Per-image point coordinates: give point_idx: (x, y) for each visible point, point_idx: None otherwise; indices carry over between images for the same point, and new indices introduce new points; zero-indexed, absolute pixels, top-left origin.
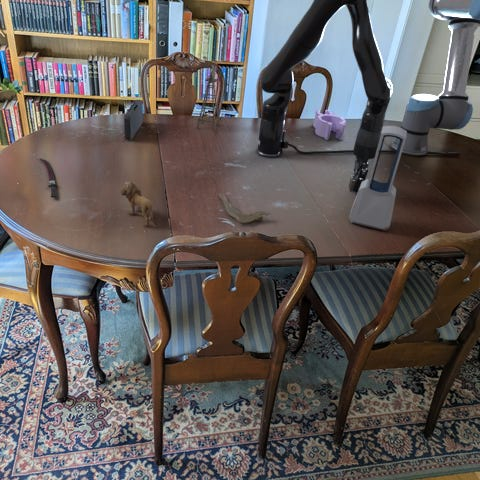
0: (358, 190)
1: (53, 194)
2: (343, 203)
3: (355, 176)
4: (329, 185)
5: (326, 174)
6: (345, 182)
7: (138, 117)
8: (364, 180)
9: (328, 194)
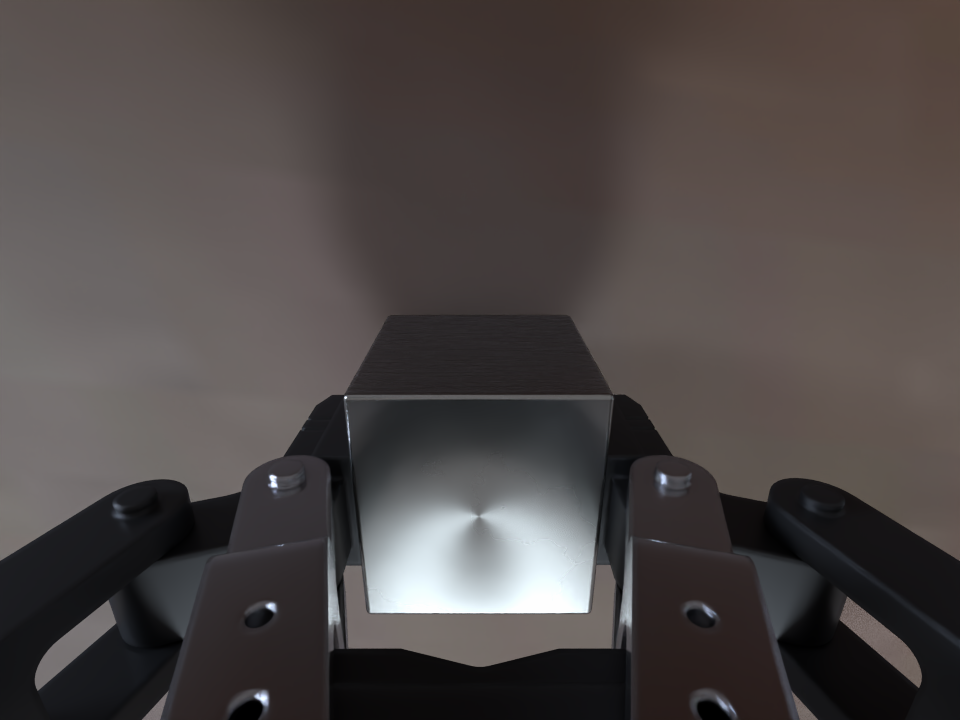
0: (637, 414)
1: None
2: None
3: (378, 552)
4: (374, 625)
5: (91, 641)
6: (201, 466)
7: None
8: (940, 557)
9: (600, 641)
